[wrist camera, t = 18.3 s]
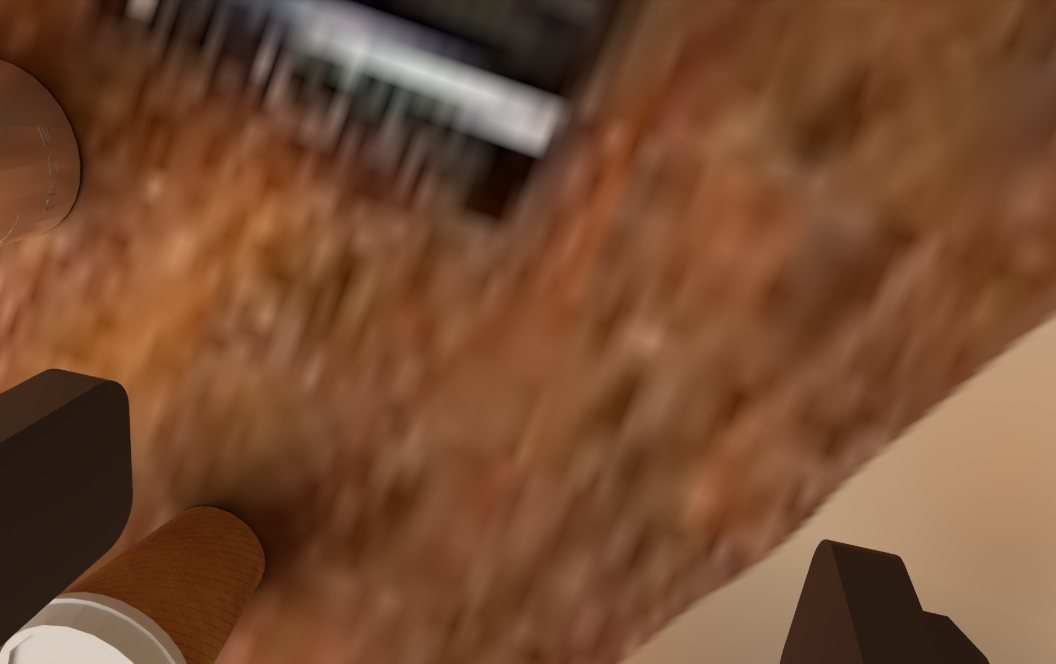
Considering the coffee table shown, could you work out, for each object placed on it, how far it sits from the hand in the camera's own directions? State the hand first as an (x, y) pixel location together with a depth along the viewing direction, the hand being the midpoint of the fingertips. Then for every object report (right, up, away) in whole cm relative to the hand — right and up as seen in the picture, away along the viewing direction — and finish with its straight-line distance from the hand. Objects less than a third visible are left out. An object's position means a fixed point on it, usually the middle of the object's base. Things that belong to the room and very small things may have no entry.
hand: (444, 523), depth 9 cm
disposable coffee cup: (-18, -11, +40) cm, 45 cm away
